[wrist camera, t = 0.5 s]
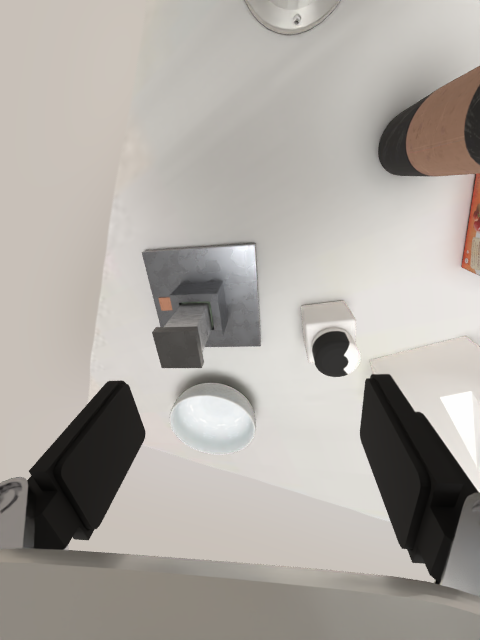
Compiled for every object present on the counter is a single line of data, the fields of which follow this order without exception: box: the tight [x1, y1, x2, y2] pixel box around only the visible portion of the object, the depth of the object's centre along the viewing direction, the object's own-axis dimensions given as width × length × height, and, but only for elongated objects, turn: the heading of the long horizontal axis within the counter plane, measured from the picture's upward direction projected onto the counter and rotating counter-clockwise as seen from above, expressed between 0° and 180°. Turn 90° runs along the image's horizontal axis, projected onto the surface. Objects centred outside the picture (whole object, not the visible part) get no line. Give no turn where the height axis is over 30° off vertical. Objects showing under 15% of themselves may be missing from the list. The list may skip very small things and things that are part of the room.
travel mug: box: [379, 66, 480, 176], centre depth 24 cm, size 8×8×20 cm
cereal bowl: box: [170, 383, 256, 455], centre depth 54 cm, size 17×17×7 cm
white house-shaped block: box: [370, 336, 480, 493], centre depth 39 cm, size 19×15×25 cm
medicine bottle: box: [301, 301, 361, 377], centre depth 40 cm, size 7×7×12 cm
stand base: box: [142, 243, 261, 347], centre depth 43 cm, size 18×18×7 cm
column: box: [152, 302, 214, 368], centre depth 38 cm, size 5×5×14 cm
